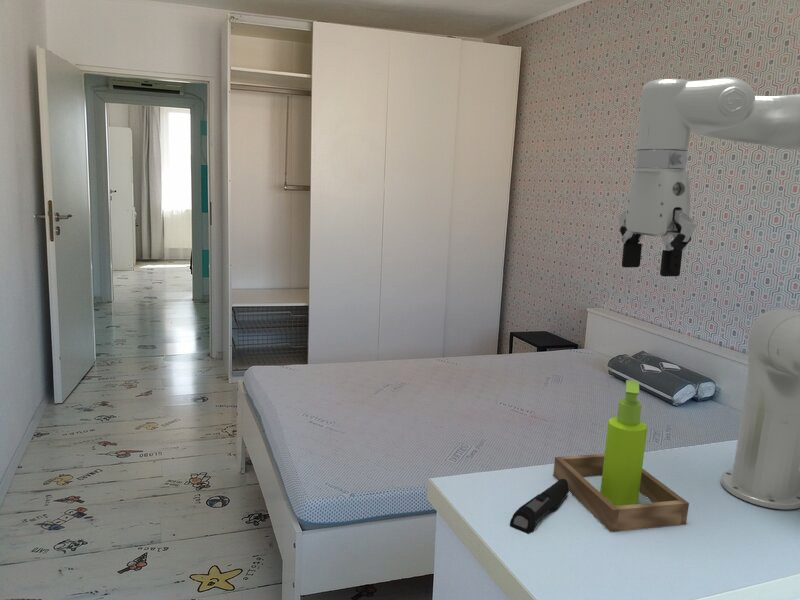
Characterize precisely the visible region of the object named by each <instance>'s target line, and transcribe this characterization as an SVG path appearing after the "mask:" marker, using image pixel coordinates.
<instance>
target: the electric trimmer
mask: <svg viewBox="0 0 800 600" xmlns="http://www.w3.org/2000/svg"><path fill="white" fill-rule="evenodd" d="M568 493H569V488H568V483H567V480H566V479H560V480H559V481H558V480H557V481H556V482H555V483H554V484H552V485H551V486H549V487H548V488H546V489H544V491H542V492H541V493H539V494H537V495H535V496H534V497H533V498H531V499H530V500H529V501H527V502H526V503H524V504H523V505H521V506H520V507H519V508H518V509H517V510H516V511H515V512H514V513H513V514H512V517H511V519H510V521H509V526H510V528H512V529H515V530H518V531H519V532H521V533H524V534H529V533H530V534H531V533H533V532H534V530H535V528H536V526H537V522H538V521H539V520H541V519H542V518H543V517H544V516H545V515H546V514H547V513H548V512H553V511H556V510H557V509H558V508H559V507H560V505H561V504H562V503H563V500H564V499H565V498H566V497H567V495H568Z"/></svg>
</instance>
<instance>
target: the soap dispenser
mask: <svg viewBox="0 0 800 600" xmlns="http://www.w3.org/2000/svg"><path fill="white" fill-rule="evenodd" d="M639 394H640V381H639V380H630V379H626V381H625V395H624V398H622V399H619V401H618V407H617V416H613V417H611V418H609V419H608V422H607V431H606V438H605V439H606V440H605V441H606V442H605V447H604V448H605V449H604V454H605V456H604V464H603V473H602V475H601V484H600V491H599V492H600V493H601V494H602V495H604V496H605V497H606V498H607V499H608V500H609V501H610V502H611V503H612V504H614V505H615V506H622V505H633V504H639V496H640V492H639V490H640V482H641V474H642V468H643V465H644V457H645V448H646V439H647V432H648V425H647V424H646V423H645V422H643V421H641V420H640V418H641V413H642V412H641V411H642V403H641V402H640V401H638V399H637V398H638V396H639Z"/></svg>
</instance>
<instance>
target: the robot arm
mask: <svg viewBox="0 0 800 600" xmlns="http://www.w3.org/2000/svg"><path fill="white" fill-rule="evenodd" d="M691 133H692V134H694V135H699V136H703V137H709V138H713V139H714V138H715V139H721V140H726V141H732V142H737V143H738V142H739V143H747V144H754V145H760V146H766V147H770V148H775V149H776V148H777V149H784V150H794V151H800V93H796V94H785V95H755V91H754V89H753V87H752V86H751V85H750V84H749V83H748V82H746V81H744V80H742V79H740V78H738V77H730V76H729V77H727V76H726V77H716V78H715V77H714V78H708V79H697V80H688V79H684V78H661V79H659V78H658V79H653V80H651V81H648V82H647V83H645V85H644V86H643V88H642V91H641V95H640V107H639V118H638V126H637V138H636V148H635V149H636V150H635V160H634V167H633V168H634V169H633V176H632V179H631V183H630V187H629V193H628V198H627V202H626V203H627V204H626V211H624V212H622V213H621V214H619V215H618V221H619V222H618V223H619V232H620V235H621V236H622V237H621V242H622V244H623V248H622V257H621V259H622V260H621V267H623V268H639V267H640V266H641V258H642V250H643V249H642V248H643V243H642V242H641V240H642V239H643V237H644V236H650V237H651V236H652V237H660V238H661V240H662V243H663V246H664V247H665V249H663V250H662V252H661V261H660V271H659V275H660V276H661V277H665V278H666V277H679V276H680V275H681V268H682V267H681V266H682V259H683V252H684V251H685V250H686V249H687V245H688V244H689V243H690V242H691V240H692V236H693V234H694V233H695V230H696V228H697V223H696V222H695V221H694V220H693V219H692V218H691V217H690V216H691V215H690V214H691V213H690V212H691V185H690V184H691V183H690V175H689V172H687V165H688V164H687V162H688V155H689V147H690V146H689V145H690V136H691ZM640 242H641V243H640ZM747 338H748V339H747V377H746V379H747V380H746V385H745V394H744V399H743V404H742V406H743V407H742V412H741V417H740V425H739V430H738V437H737V442H736V449H735V450H736V451H735V455H734V463H733V467H732V468H733V469H729V470H726V471H724V472H723V473H722V474H721V479H720V482H721V483H720V484H721V485H722V486H723V488H724V489H725V490H726V491H727V492H728V493H730V494H731V495H733V496H734V497H736V498H738V499H741V500H743V501H745V502H748V503H750V504H753V505H756V506H760V507H764V508H769V509H774V510H775V509H776V510H795V509H799V508H800V311H798V310H793V309H789V308H778V309H777V308H776V309H771V310H769V311H766V312H764V313H762V314H761V315H760V316H758V317H757V319H756V320H755V321H754V322H753V323H752V325H751V328H750V329H749V333H748V337H747Z"/></svg>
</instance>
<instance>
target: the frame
mask: <svg viewBox="0 0 800 600" xmlns="http://www.w3.org/2000/svg"><path fill="white" fill-rule="evenodd" d="M604 456H605V453H597V454H582V455H581V454H580V455H579V454H578V455H566V456H555V457H554V464H553V474H552V476H553V477H554V478H555V479H556V480H557V481H559V480H560V479H566V480H567V483H568V488H569V491H570V492H571V493H572V494H573V495H574V496H575V497H576V498H577V499H578V500H579V501H580V502H581V503H580V502H579V501H578V500H577V499H576V498H575V497H574V496H573V495H572V494H571V493H570V492H569V491H568V492H569V493H570V494H571V495H572V496H573V497H574V498H575V499H576V500H577V501H578V502H579V503H580V504H581V505H582V506H583V507H584V508H586V509H587V510H588V511H589V512H590V513H591V514H592V516H593V517H595V518H596V519H597V521H599V522H600V523H601V524H602V525H603V526H604V527H605V528H606V529H607V530H608V531H609V532H610V533H613V532H621V531H622V532H623V531H624V532H625V531H631V530H642V529H652V528H662V527H671V526H682V525H687V521H688V515H689V507H690V502H688V501H687V500H686V499H684V498H683V497H681V496H680V495H679V494H678V493H676V491H674V490H672V489H671V488H669V487H668V486H667V485H665V484H664V483H663V482H661V481H660V480H659V479H657V478H656V477H655V476H653V475H652V474H651V473H649V472H648V471H647V470H645V469H644V468H643V467H642V474H641V482H640V490H639V491H640V492H639V493H640V494H641V495H643V496H644V495H645V496H646V497H645V496H644V497H645V498H647V497H648V498H649V499H650V500H649V499H648V498H647V499H648V500H649V501H650V502H647V503H646V502H645V503H638V504H633V505H622V506H615V505H614V504H612V503H611V502H610V501H609V500H608V499H607V498H606V497H605V496H604V495H602V494H601V493H600V491H599V489H597V488H596V487H594V485H593V484H591V483H590V482H589V481H588V480H587V479H586V478H585V477H592V475H594V476H602V473H603V464H604Z"/></svg>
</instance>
